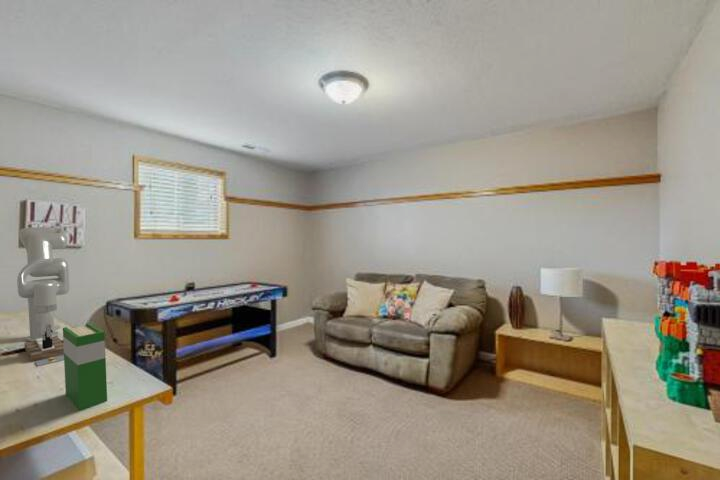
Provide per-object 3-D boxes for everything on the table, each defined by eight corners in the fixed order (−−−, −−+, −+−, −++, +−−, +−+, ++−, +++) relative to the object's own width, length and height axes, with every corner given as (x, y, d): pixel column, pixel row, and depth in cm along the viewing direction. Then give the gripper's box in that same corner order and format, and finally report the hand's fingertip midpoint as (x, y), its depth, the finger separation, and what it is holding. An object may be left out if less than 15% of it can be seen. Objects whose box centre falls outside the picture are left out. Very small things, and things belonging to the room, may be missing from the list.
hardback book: (65, 394, 118) (62, 327, 117) (91, 386, 124) (89, 322, 123) (79, 410, 107) (76, 337, 106) (107, 401, 113) (104, 331, 112)
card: (35, 362, 146) (35, 360, 146) (65, 355, 154) (65, 354, 154) (37, 366, 142) (37, 365, 142) (68, 359, 150) (68, 357, 149)
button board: (24, 348, 163) (24, 342, 163) (57, 341, 172) (57, 336, 172) (31, 362, 147) (31, 355, 146) (67, 353, 156) (67, 347, 156)
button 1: (36, 343, 164) (36, 339, 163) (48, 341, 167) (48, 336, 167) (37, 345, 161) (37, 341, 161) (49, 343, 164) (49, 338, 164)
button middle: (38, 346, 159) (38, 342, 159) (50, 344, 162) (50, 339, 162) (39, 348, 156) (39, 344, 156) (52, 346, 160) (52, 341, 160)
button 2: (40, 352, 155) (40, 347, 155) (53, 349, 158) (53, 345, 158) (42, 354, 152) (41, 350, 152) (54, 351, 155) (54, 347, 155)
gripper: (32, 308, 156) (34, 346, 157) (36, 313, 146) (38, 354, 147) (53, 305, 162) (55, 342, 162) (59, 309, 152) (61, 349, 153)
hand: (47, 347), depth 155 cm, fingers closed
